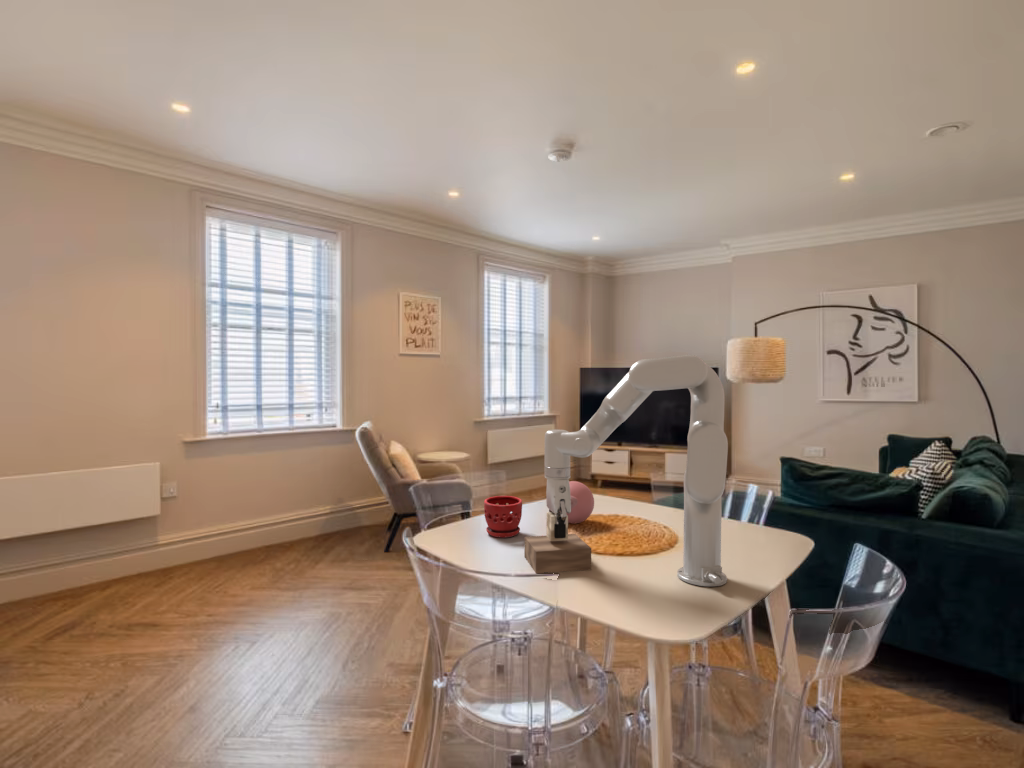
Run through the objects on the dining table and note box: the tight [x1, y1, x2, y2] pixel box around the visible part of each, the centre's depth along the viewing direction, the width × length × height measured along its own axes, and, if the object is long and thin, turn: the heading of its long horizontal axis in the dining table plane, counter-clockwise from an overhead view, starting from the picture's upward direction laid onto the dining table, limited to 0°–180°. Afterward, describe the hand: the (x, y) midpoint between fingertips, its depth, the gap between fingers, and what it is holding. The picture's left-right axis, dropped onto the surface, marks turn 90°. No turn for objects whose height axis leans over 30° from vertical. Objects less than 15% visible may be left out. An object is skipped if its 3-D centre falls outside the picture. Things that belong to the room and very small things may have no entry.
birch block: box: [545, 511, 569, 541], centre depth 155 cm, size 5×5×7 cm
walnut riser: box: [523, 533, 592, 574], centre depth 155 cm, size 14×16×6 cm
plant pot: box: [483, 495, 523, 538], centre depth 184 cm, size 13×13×12 cm
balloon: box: [559, 480, 595, 524], centre depth 197 cm, size 15×20×15 cm
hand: (557, 534), depth 155 cm, fingers closed on birch block, 4 cm apart
